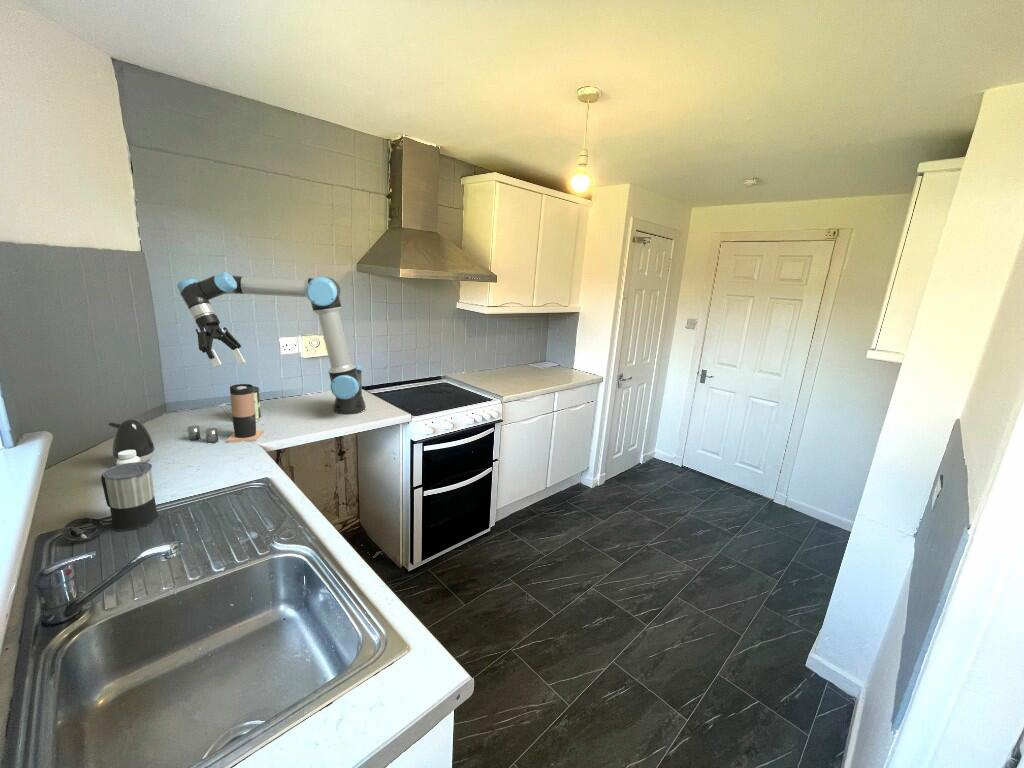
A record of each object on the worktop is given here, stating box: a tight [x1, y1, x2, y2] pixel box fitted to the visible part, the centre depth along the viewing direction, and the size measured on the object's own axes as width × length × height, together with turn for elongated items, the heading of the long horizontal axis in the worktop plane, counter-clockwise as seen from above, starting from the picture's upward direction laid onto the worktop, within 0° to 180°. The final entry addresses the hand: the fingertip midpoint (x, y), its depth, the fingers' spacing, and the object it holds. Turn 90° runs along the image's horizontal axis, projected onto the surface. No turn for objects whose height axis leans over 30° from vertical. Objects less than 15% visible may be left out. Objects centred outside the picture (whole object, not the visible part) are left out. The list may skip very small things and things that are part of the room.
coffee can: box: [252, 385, 262, 422], centre depth 181 cm, size 10×10×14 cm
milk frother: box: [61, 462, 160, 544], centre depth 102 cm, size 14×16×15 cm
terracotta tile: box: [225, 429, 265, 443], centre depth 164 cm, size 10×10×1 cm
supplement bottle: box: [115, 450, 141, 466], centre depth 124 cm, size 5×5×10 cm
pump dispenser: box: [108, 418, 155, 463], centre depth 135 cm, size 10×10×15 cm
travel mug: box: [229, 383, 257, 438], centre depth 161 cm, size 8×8×20 cm
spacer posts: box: [187, 425, 219, 444], centre depth 164 cm, size 17×20×5 cm
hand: (230, 364), depth 168 cm, fingers open, 13 cm apart
